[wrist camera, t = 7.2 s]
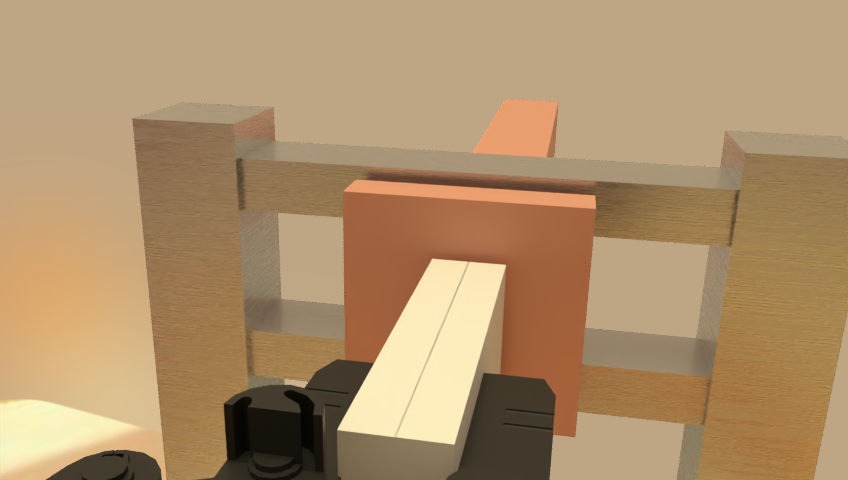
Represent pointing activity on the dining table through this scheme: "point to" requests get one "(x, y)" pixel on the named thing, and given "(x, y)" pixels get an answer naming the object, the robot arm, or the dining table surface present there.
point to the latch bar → (480, 256)
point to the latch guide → (608, 180)
